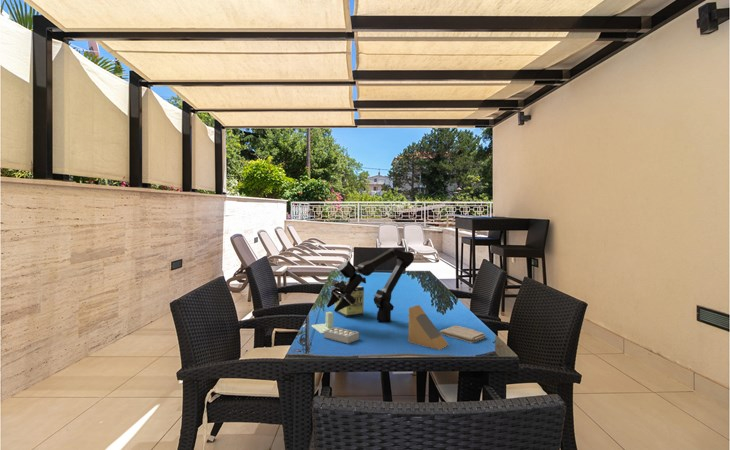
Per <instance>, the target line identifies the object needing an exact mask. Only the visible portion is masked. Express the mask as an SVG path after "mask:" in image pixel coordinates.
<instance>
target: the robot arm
mask: <svg viewBox="0 0 730 450" xmlns="http://www.w3.org/2000/svg"><path fill="white" fill-rule="evenodd" d="M392 258H396V265H395V267H394V269H393V270H392V272H391V274H390V275H389V278H388V279H387V281H386V283H385V285H384V286H383V288H382V289H377V290H376V293H375V294H374V295H373V303H374V305H375V306H376V308H377V309H378V310H377V311H376V317H377V319H376V320H377V323H389V324H390V323H391V322H392V317H391V315H392V311H394V308H395V306H394V305H393V303H391V300H392V293H393V291H394V289H395V288H396V285H397V284H398V282H399V280H400V278H401V277H402V275H403V273H404V271H405V270H406V269H407V268H408V267H409V266H411V264H412V263H413V262H414V260H415V256H414V253H412V251H407V250H406V251H405V250H400V249H397V248H392V247H391V248H389V249H388V250H385V252H382V253H381V254H379V255H377V256H376V257H374V258H373V259H370V260H367V261H363V262H361V263H359V264H358V265H356V266H355V265H353V264H352V263H351V261H350V260H345V262H343V263H341V264H339V266H338V267H337V270H338V272H339V273H340V274H341V275H343V277H344V278H345V279H347V280H345V281H344V280H336V279H332V282H331V284H330V286H332V287H331V288H330V297H329V300H328V302H327V304H326V307H327V308H330V307H331V306H333V305H335V303H336V302H338V301H339V300H340V302H339V303H338V305H337V306H336V308H335V307H334V310H333V311H334V312H335V313H337V311H339V310H341V309H343V308H345V307H347V306H351V304H352V305H353V304H354V303H355V298H354V297H353V296H352V295H351V294H352V293H353V292H356V288H357V287H358V286H360V284H361V283H362V284H367V280H366V279H367V278H366V277H369V276H370V275H371V274H373V273H374V272H375V271H376V269H377V268H378V267H380V266H381V265H383V264H385V263H386V262H388V261H390V260H392ZM364 276H365V277H364ZM340 298H341V299H340Z"/></svg>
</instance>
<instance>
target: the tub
mask: <svg viewBox="0 0 730 450" xmlns="http://www.w3.org/2000/svg"><path fill="white" fill-rule="evenodd" d="M333 327H334V326H333ZM359 337H360V331H356V330H351V329H346V328H342V327H337V326H335V327H334V328H331V329H329V330H326V331H324V333H323V338H324V339H326V340H330V341H335V342H338V343H343V344H347V345H348V344H351V343H353V342H356V341H358V340H359V339H360V338H359Z"/></svg>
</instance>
